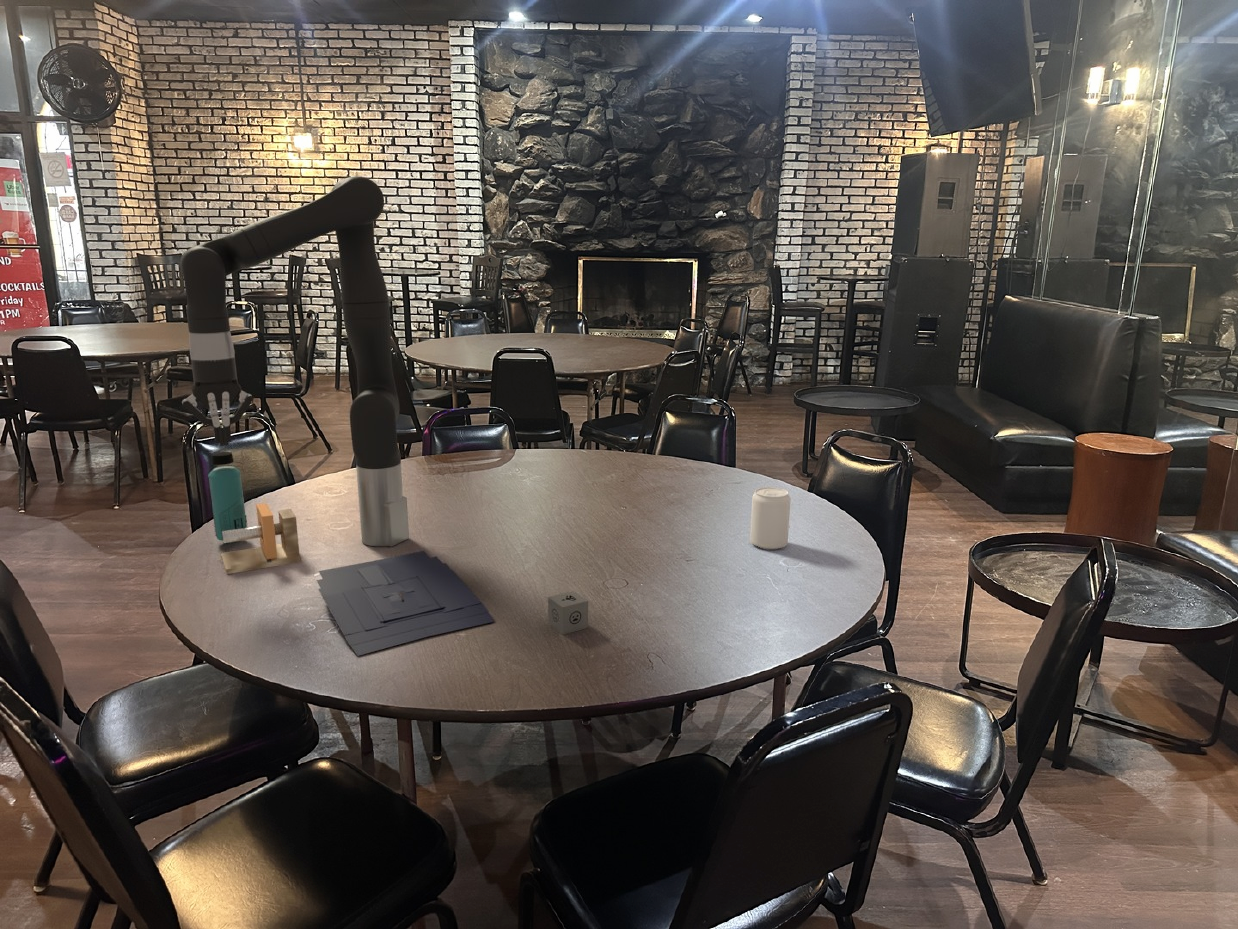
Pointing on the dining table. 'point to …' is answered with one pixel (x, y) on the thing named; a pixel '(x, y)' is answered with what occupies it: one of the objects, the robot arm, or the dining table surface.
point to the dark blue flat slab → (398, 601)
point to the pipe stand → (256, 556)
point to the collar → (267, 531)
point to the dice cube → (568, 612)
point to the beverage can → (770, 518)
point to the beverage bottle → (226, 495)
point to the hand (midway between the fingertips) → (223, 444)
